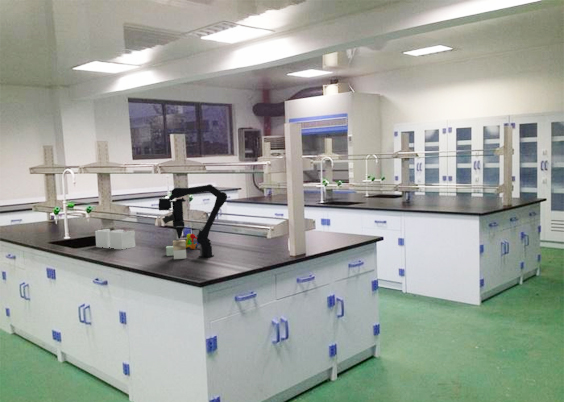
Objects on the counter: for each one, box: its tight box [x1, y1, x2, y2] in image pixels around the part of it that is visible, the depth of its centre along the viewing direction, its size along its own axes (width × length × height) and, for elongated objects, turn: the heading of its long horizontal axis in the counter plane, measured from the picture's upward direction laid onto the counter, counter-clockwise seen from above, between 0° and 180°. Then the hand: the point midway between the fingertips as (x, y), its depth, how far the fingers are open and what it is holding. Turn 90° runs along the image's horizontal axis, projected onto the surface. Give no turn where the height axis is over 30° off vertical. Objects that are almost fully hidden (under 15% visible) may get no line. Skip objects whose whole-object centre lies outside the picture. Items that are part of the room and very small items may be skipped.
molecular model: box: [185, 233, 199, 250], centre depth 313 cm, size 11×10×15 cm
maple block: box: [172, 239, 187, 251], centre depth 281 cm, size 7×4×5 cm, turn 103°
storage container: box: [94, 228, 136, 250], centre depth 326 cm, size 25×11×11 cm, turn 59°
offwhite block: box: [173, 249, 187, 260], centre depth 281 cm, size 7×4×5 cm, turn 103°
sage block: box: [165, 245, 174, 257], centre depth 292 cm, size 7×4×5 cm, turn 103°
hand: (179, 237), depth 280 cm, fingers open, 9 cm apart
